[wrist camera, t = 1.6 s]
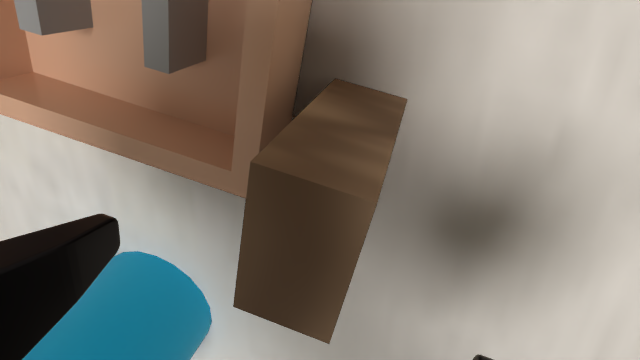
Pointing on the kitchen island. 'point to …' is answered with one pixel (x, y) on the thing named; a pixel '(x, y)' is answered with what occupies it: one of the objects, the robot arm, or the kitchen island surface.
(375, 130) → the wooden rectangular block
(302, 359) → the kitchen island surface
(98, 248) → the robot arm
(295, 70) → the shallow wooden tray
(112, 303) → the mug
